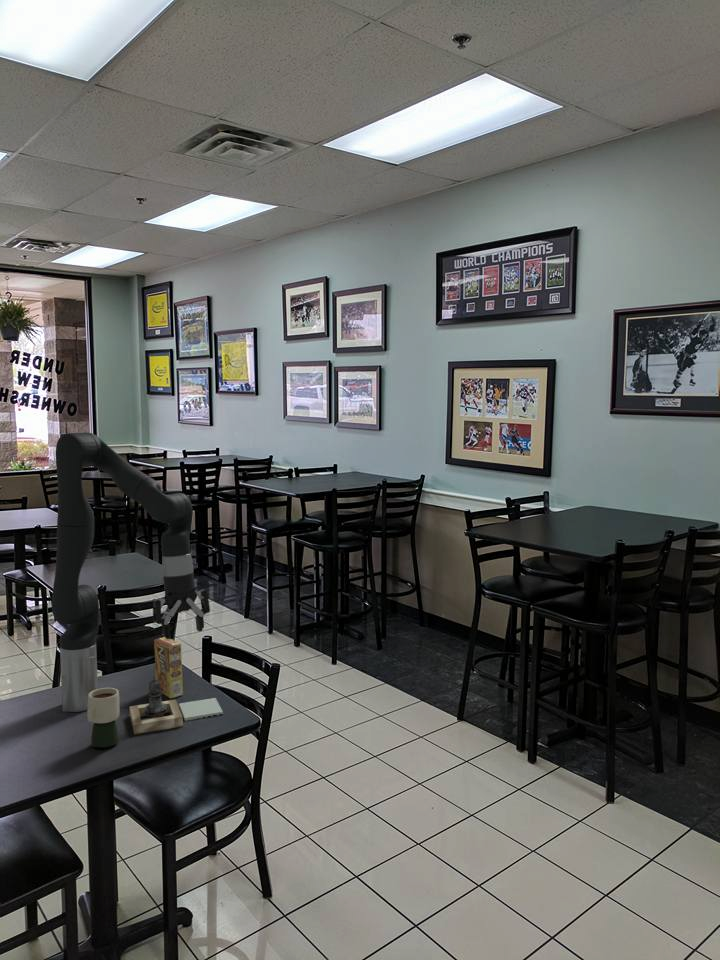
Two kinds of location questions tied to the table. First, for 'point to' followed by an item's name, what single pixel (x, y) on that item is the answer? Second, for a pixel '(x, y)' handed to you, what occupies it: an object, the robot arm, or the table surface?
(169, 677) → the candy box
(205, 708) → the coaster
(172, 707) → the beige square frame
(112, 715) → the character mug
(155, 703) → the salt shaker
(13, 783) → the table surface
